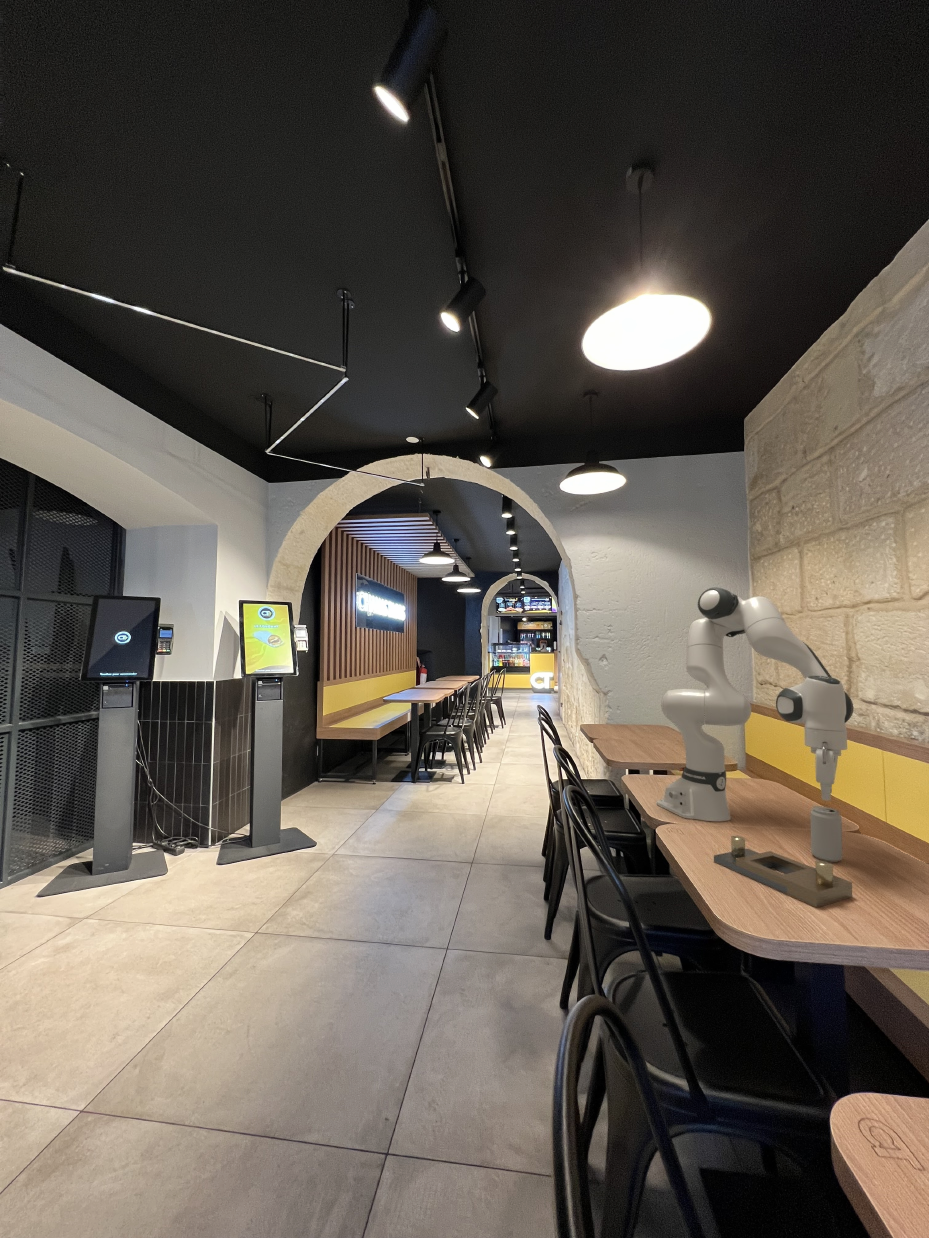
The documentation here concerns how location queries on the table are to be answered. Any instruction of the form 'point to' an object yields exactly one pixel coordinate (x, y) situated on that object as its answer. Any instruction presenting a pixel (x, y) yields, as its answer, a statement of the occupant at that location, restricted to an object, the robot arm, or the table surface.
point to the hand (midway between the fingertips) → (826, 796)
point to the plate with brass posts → (787, 874)
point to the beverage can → (826, 834)
